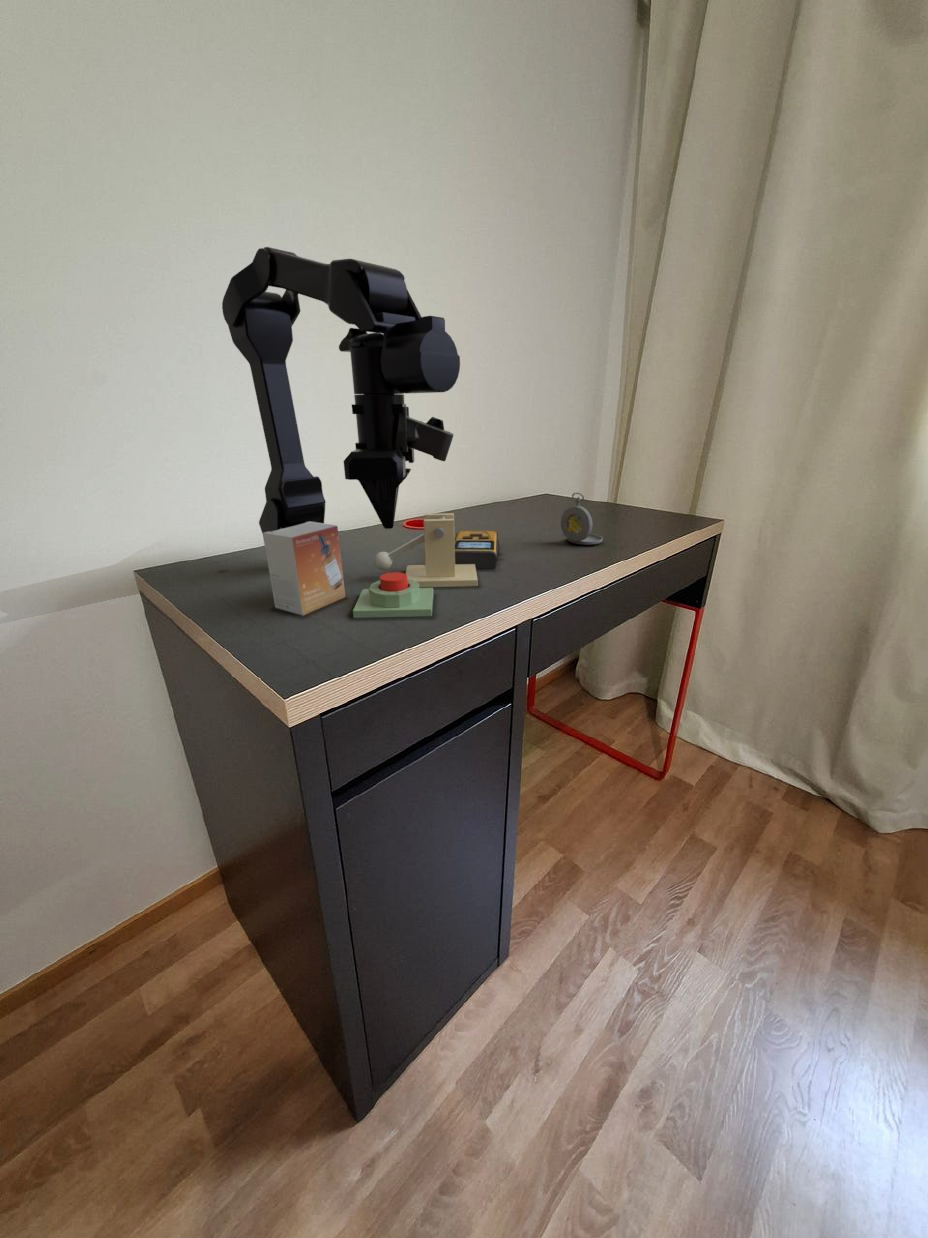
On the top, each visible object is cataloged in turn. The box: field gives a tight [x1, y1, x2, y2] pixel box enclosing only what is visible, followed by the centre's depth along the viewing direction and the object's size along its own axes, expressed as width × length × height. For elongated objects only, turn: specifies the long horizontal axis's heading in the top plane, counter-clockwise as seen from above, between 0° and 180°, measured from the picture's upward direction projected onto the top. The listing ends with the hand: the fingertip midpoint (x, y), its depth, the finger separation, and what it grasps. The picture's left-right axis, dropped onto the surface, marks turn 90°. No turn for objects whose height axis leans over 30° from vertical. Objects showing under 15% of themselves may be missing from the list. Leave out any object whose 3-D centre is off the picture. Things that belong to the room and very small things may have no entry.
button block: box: [352, 579, 434, 619], centre depth 65 cm, size 10×8×3 cm
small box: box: [262, 521, 346, 616], centre depth 65 cm, size 8×6×10 cm
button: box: [379, 571, 408, 592], centre depth 65 cm, size 4×4×2 cm
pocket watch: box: [560, 492, 604, 546], centre depth 93 cm, size 8×8×10 cm
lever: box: [373, 516, 445, 571], centre depth 74 cm, size 13×3×3 cm, turn 93°
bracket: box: [405, 512, 479, 588], centre depth 74 cm, size 11×8×10 cm
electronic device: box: [454, 530, 500, 570], centre depth 87 cm, size 8×16×3 cm, turn 176°
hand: (388, 528), depth 63 cm, fingers closed
